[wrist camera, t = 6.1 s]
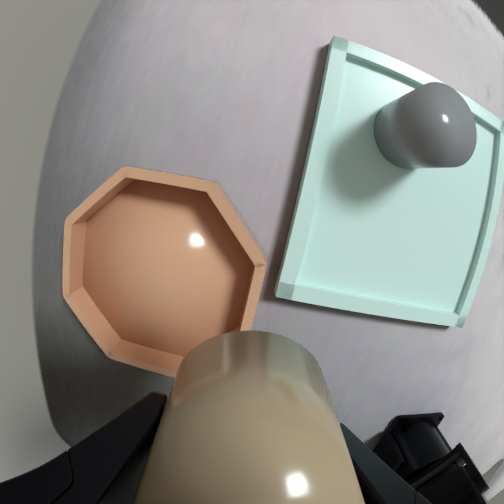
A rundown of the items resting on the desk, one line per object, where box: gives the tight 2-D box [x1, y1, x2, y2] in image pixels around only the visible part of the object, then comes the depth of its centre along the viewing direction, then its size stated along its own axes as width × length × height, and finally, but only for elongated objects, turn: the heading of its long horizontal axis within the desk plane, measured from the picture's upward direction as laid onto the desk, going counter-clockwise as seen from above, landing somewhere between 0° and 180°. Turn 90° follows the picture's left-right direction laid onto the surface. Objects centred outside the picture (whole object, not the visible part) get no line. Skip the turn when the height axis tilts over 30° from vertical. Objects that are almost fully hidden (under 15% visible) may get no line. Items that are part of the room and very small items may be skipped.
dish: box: [63, 166, 267, 378], centre depth 18 cm, size 13×13×2 cm
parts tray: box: [274, 36, 504, 328], centre depth 17 cm, size 16×17×1 cm
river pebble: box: [133, 331, 365, 504], centre depth 6 cm, size 5×5×5 cm
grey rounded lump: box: [373, 82, 477, 169], centre depth 14 cm, size 5×5×5 cm
